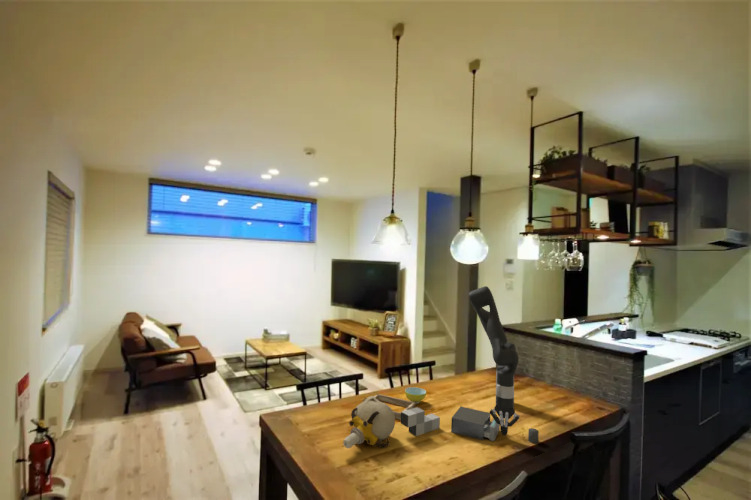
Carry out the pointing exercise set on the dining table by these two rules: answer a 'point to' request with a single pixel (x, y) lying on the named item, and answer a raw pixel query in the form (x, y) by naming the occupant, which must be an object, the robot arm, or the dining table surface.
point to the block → (419, 421)
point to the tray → (491, 430)
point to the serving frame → (396, 401)
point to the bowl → (415, 394)
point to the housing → (469, 422)
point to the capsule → (533, 435)
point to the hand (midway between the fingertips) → (504, 434)
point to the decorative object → (371, 423)
